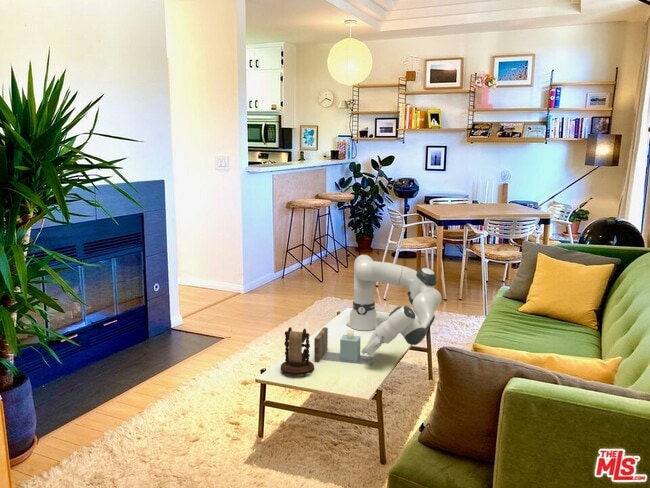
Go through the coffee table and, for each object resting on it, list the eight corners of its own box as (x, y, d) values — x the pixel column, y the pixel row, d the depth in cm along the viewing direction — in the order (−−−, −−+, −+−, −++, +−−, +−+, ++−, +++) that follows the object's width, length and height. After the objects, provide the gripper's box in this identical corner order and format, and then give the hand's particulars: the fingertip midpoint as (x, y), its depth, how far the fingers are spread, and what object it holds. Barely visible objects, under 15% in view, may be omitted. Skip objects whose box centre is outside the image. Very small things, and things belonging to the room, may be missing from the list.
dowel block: (343, 354, 254) (343, 328, 252) (360, 356, 252) (360, 330, 250) (340, 360, 248) (340, 333, 245) (357, 362, 246) (357, 335, 243)
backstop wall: (323, 350, 262) (323, 327, 259) (327, 351, 261) (327, 327, 259) (314, 363, 246) (314, 338, 244) (318, 364, 246) (318, 339, 244)
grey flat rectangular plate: (325, 353, 258) (325, 351, 258) (375, 358, 252) (375, 356, 252) (320, 361, 249) (320, 359, 249) (371, 367, 243) (371, 365, 242)
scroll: (275, 376, 233) (275, 332, 229) (287, 363, 247) (286, 321, 243) (308, 380, 229) (308, 335, 226) (318, 366, 243) (317, 324, 240)
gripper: (386, 347, 233) (363, 366, 237) (392, 331, 253) (371, 349, 257) (375, 336, 234) (353, 355, 238) (383, 321, 253) (362, 339, 257)
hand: (363, 352), depth 247 cm, fingers closed
